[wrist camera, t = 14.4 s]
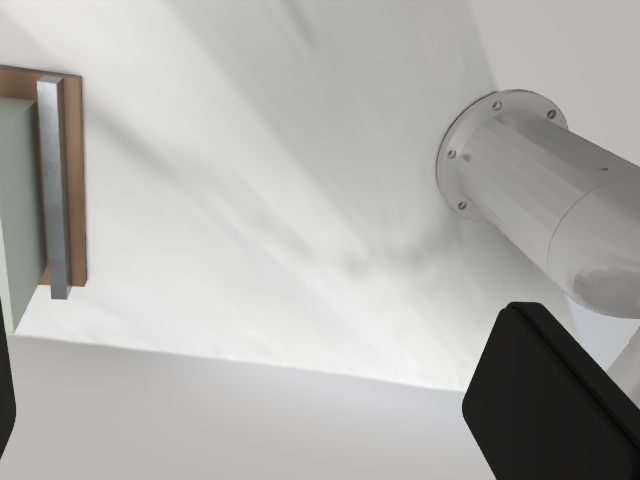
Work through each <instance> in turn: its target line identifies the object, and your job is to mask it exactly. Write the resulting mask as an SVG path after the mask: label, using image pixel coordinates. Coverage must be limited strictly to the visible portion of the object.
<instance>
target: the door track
mask: <svg viewBox="0 0 640 480" xmlns="http://www.w3.org/2000/svg"><path fill="white" fill-rule="evenodd" d="M0 96H1V97H9V98H17V99H25V100H33V101H36V110H37V125H38V139H39V153H40V167H41V181H42V196H43V210H44V224H45V238H46V252H47V267H46V269H45V271H44V273H43V275H42V277H41V279H40V281H39V283H38V285H50V286H51V299H65V300H67V298H68V296H69V293H70V291H71V288H72V286H82V287H85V284H86V281H87V270H86V234H85V197H84V161H83V124H82V88H81V76H74V75H67V74H59V73H52V72H45V71H38V70H31V69H24V68H17V67H10V66H2V65H0Z"/></svg>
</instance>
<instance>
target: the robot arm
mask: <svg viewBox="0 0 640 480" xmlns="http://www.w3.org/2000/svg"><path fill="white" fill-rule="evenodd" d="M494 102H495V103H494ZM493 104H494V105H493ZM449 151H450V152H449ZM448 152H449V153H448ZM437 180H438V185H439V189H440V191H441V193H442V195H443V197H444V199H445V200H446V201H447V202H448V203H449V205H450V206H451V207H452V208H453V209H454V210H455V211H456V212H457V213H459V214H461V215H462V216H464V217H466V218H468V219H471V220H475V221H481V222H492V223H493V224H494V225H495V226H496V227H497V228H498V229H499V230H500V231H501V232H502V233H503V234H504V235H505V236H506V237H507V238H508V239H509V240H510V241H511V242H512V243H513V244H514V245H515V246H517V247H518V248H519V249H520V250H521V251H522V252H523V253H524V254H525V255H526V256H527V257H528V258H529V259H530V260H531V261H532V262H533V263H534V264H535V265H536V266H537V267H538V268H539V269H540V270H541V271H542V272H543V273H544V274H545V275H546V276H547V277H548V278H549V279H551V280H552V281H553V282H554V283H555V284H556V285H557V286H558V287H559V288H560V289H561V290H562V291H563V292H564V293H565V294H566V295H568V296H569V297H570V298H571V299H572V300H574V301H575V302H576V303H578V304H579V305H581V306H583V307H585V308H587V309H589V310H591V311H594V312H596V313H600V314H603V315H607V316H613V317H620V318H632V319H640V167H638V166H637V165H634V164H633V163H631V162H629V161H627V160H625V159H623V158H621V157H619V156H617V155H615V154H613V153H611V152H609V151H607V150H605V149H603V148H601V147H599V146H598V145H596V144H594V143H591V142H590V141H588V140H586V139H584V138H582V137H580V136H578V135H576V134H574V133H572V132H570V131H568V127H567V123H566V120H565V118H564V116H563V114H562V112H561V111H560V109H559V108H558V107H557V106H556V105H555V104H554V103H553V102H552V101H550V100H549V99H547V98H545V97H543V96H542V95H540V94H537V93H534V92H532V91H527V90H520V89H518V90H506V91H501V92H497V93H494V94H492V95H489V96H487V97H485V98H483V99H481V100H479V101H478V102H476V103H475V104H473V105H472V106H471V107H469V108H468V109H467V110H466V111H465V112H464V113H463V114H462V115H461V116H460V117H459V118H458V119H457V120H456V121H455V123H454V124H453V125H452V127H451V128H450V129H449V131H448V133H447V135H446V137H445V138H444V140H443V143H442V146H441V148H440V151H439V155H438V161H437ZM462 413H463V417H464V419H465V421H466V423H467V425H468V427H469V429H470V431H471V432H472V434H473V436H474V438H475V440H476V442H477V444H478V446H479V447H480V449H481V451H482V453H483V455H484V457H485V459H486V460H487V462H488V464H489V466H490V468H491V470H492V472H493V473H494V475H495V477H496V479H497V480H640V327H639V329H638V330H637V331H636V333H635V334H634V336H633V337H632V338H631V339H630V341H629V344H628V345H627V347H626V348H625V349H624V350H623V351H622V353H621V354H620V355H619V356H618V357H617V359H616V360H615V361H614V362H613V363H612V365H611V366H610V367H609V368H608V370H607V371H606V372H605V371H604V370H603V369H602V368H601V367H600V366H599V365H598V364H597V363H596V362H595V361H594V360H593V358H592V357H591V356H590V355H589V354H588V353H587V352H586V351H585V350H584V349H583V348H582V347H581V345H580V344H579V343H578V342H577V341H576V340H575V339H574V338H573V337H572V336H571V335H570V334H569V333H568V331H567V330H566V329H565V328H564V327H563V326H562V325H561V324H560V323H559V322H558V321H557V320H556V319H555V317H554V316H553V315H552V314H551V313H550V312H549V311H548V310H547V309H546V308H545V307H544V306H543V305H542V304H541V303H537V302H511V303H509V304H508V305H507V307H506V308H504V309H502V310H501V311H500V312H499V314H498V317H497V319H496V321H495V324H494V326H493V329H492V331H491V334H490V336H489V338H488V341H487V343H486V346H485V348H484V351H483V353H482V355H481V358H480V360H479V363H478V365H477V368H476V370H475V372H474V375H473V377H472V380H471V382H470V384H469V387H468V389H467V392H466V394H465V397H464V399H463V403H462ZM15 418H16V403H15V396H14V389H13V382H12V375H11V368H10V361H9V354H8V346H7V339H6V332H5V325H4V318H3V311H2V304H1V297H0V459H1V456H2V454H3V452H4V449H5V447H6V445H7V442H8V440H9V437H10V435H11V432H12V430H13V427H14V423H15Z"/></svg>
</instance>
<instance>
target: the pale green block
mask: <svg viewBox="0 0 640 480" xmlns="http://www.w3.org/2000/svg"><path fill="white" fill-rule="evenodd" d="M46 267H47V252H46V238H45V224H44V210H43V196H42V181H41V167H40V153H39V139H38V125H37V110H36V101H33V100H25V99H17V98H9V97H1V96H0V297H1V304H2V311H3V318H4V325H5V332H6V333H8V334H14V332H15V330H16V328H17V326H18V324H19V322H20V320H21V318H22V316H23V314H24V312H25V310H26V308H27V306H28V304H29V302H30V300H31V298H32V296H33V294H34V291H35V289H36V287H37V285H38V283H39V281H40V279H41V277H42V275H43V273H44V271H45V269H46Z"/></svg>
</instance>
